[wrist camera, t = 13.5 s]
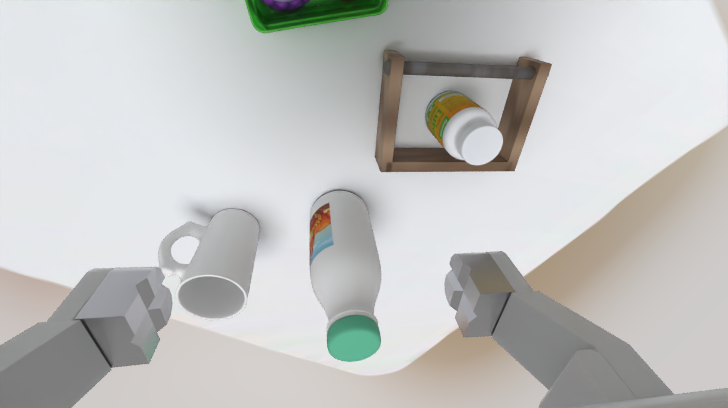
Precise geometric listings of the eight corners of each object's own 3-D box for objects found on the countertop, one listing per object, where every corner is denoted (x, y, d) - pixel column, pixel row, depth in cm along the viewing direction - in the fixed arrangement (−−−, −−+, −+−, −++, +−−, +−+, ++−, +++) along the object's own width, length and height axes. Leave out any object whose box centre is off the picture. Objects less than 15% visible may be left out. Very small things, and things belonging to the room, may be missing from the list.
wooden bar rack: (378, 50, 33) (386, 56, 30) (534, 57, 36) (557, 64, 32) (370, 156, 40) (375, 172, 36) (502, 157, 42) (518, 171, 39)
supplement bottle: (422, 96, 36) (453, 125, 28) (468, 85, 36) (512, 111, 28) (426, 140, 39) (455, 177, 31) (469, 129, 39) (508, 165, 31)
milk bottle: (346, 177, 41) (370, 304, 24) (377, 217, 45) (415, 349, 28) (298, 208, 42) (288, 347, 26) (331, 244, 46) (342, 383, 30)
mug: (271, 221, 43) (259, 290, 33) (247, 254, 45) (229, 327, 35) (195, 184, 39) (155, 251, 29) (173, 223, 41) (129, 296, 31)
